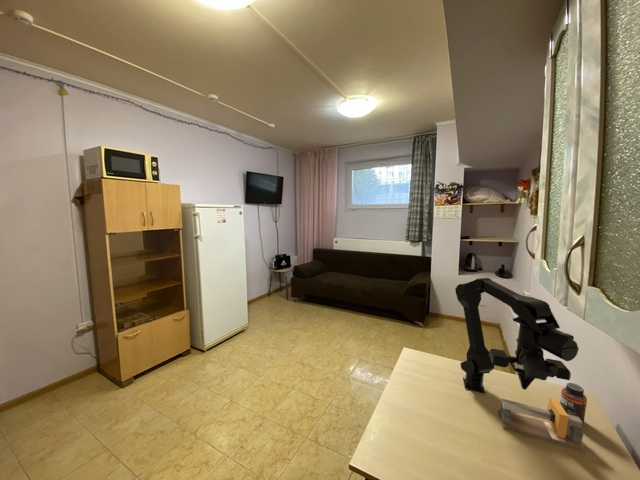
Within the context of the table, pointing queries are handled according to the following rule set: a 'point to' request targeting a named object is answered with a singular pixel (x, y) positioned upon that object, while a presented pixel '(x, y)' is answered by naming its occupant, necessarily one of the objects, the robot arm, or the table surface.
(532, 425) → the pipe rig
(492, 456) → the table surface
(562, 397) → the supplement bottle
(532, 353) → the robot arm
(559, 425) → the collar
